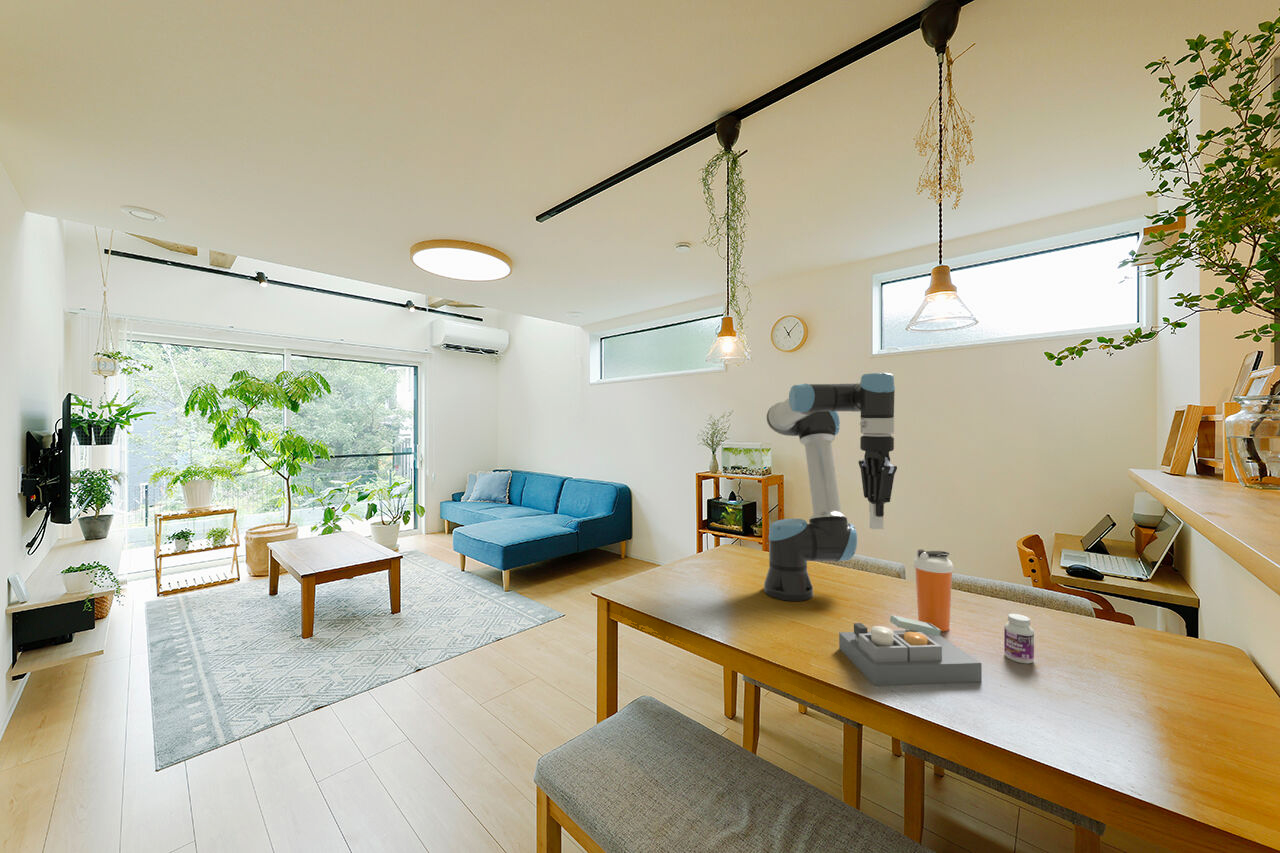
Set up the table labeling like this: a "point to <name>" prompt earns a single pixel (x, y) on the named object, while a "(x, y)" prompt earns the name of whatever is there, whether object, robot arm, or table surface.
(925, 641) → the button
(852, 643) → the panel
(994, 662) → the table surface
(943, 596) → the shaker bottle
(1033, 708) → the table surface
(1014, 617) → the pill bottle
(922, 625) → the block
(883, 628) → the button
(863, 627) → the slider
